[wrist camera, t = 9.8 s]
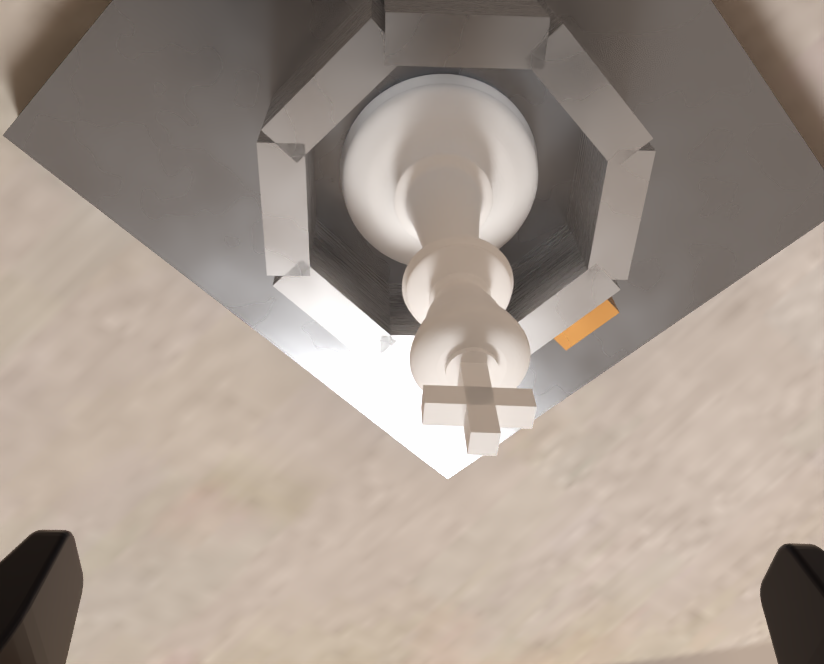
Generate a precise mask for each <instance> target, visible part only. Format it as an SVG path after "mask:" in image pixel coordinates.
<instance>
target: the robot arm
mask: <svg viewBox="0 0 824 664" xmlns="http://www.w3.org/2000/svg"><path fill="white" fill-rule="evenodd" d="M82 589H83V573H82V568H81V564H80V560H79V556H78V551H77V547H76V543H75V539H74V536H73V535H72V533H71V532H69V531H66V530H38V531H35V532H34V533H32V534H31V535H29V536H28V537H27V538H26V539H25V540H24V541H23V542H22V543H20V544H19V545H18V546H17V547H16V548H15V549H14V550H13V551H12V552H11V553H10V554H8V555H7V556H6V557H5V558H4V559H3V560H2V561H1V562H0V664H66V659H67V655H68V651H69V646H70V642H71V638H72V634H73V629H74V625H75V621H76V616H77V612H78V608H79V604H80V599H81V595H82ZM760 597H761V603H762V607H763V611H764V614H765V618H766V621H767V625H768V629H769V632H770V636H771V640H772V643H773V647H774V650H775V654H776V658H777V661H778V664H824V551H823V550H822V549H821V548H819V547H817V546H815V545H812V544H784V545H783V546H781V547H780V548H779V549H778V551H777V553H776V555H775V557H774V559H773V561H772V563H771V565H770V567H769V569H768V571H767V573H766V575H765V577H764V579H763V581H762V583H761V588H760Z"/></svg>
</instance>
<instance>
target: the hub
mask: <svg viewBox="0 0 824 664" xmlns="http://www.w3.org/2000/svg"><path fill="white" fill-rule="evenodd" d="M430 74H454V75H461V76H465V77H469V78H473V79H476V80H478V81H481V82H483V83H485V84H487V85H489V86H491V87H493V88H495V89H496V90H498V91H499V92H501V93H502V94H503V95H504V96H506V97H507V98H508V99H509V100H510V101H511V102H512V103H513V104H514V105H515V106H516V107H517V108H518V110H519V111H520V112H521V114H522V115H523V116H524V118H525V120H526V121H527V123H528V125H529V127H530V130H531V132H532V135H533V137H534V141H535V145H536V150H537V159H538V185H537V191H536V195H535V199H534V202H533V205H532V208H531V210H530V212H529V214H528V216H527V218H526V220H525V221H524V223H523V224H522V226H521V227H520V229H519V230H518V231H517V232H516V234H515V235H514V236H513V237H512V238H511V239H510V240H509V241H508V242H507V243H506V244H504V245H503V246H502V247H501V248H499V250H500V251H501V252H502V253H503V254H504V256H505V257H506V258H507V260H508V262H509V264H510V266H511V268H512V272H513V278H514V285H513V291H512V295H511V298H510V302H509V304H508V306H507V308H506V311H507V312H508V313H509V314H510V315H511V316H512V317H513V318H514V319H515V320H516V321H517V322H518V323H519V324H520V326H521V327H522V329H523V330H524V332H525V334H526V336H527V338H528V341H529V345H530V352H531V356H530V364H529V367H528V370H527V373H526V375H525V377H524V378H523V380H522V381H521V383H520V384H519V385H518V386H517V388H523V389H532V391H533V394H534V398H535V402H536V406H537V408H536V413H535V418H534V419H536V418H537V417H539V416H540V415H542V414H543V413H545V412H546V411H548V410H549V409H550V408H552V407H553V406H555V405H556V404H558V403H559V402H561V401H562V400H564V399H565V398H567V397H568V396H569V395H571V394H572V393H574V392H575V391H577V390H578V389H580V388H581V387H583V386H584V385H585V384H587V383H588V382H590V381H591V380H593V379H594V378H596V377H597V376H599V375H600V374H602V373H603V372H604V371H606V370H607V369H609V368H610V367H612V366H613V365H615V364H616V363H618V362H619V361H621V360H622V359H623V358H625V357H626V356H628V355H629V354H631V353H632V352H634V351H635V350H637V349H638V348H639V347H641V346H642V345H644V344H645V343H647V342H648V341H650V340H651V339H653V338H654V337H656V336H657V335H658V334H660V333H661V332H663V331H664V330H666V329H667V328H669V327H670V326H672V325H673V324H675V323H676V322H677V321H679V320H680V319H682V318H683V317H685V316H686V315H688V314H689V313H691V312H692V311H693V310H695V309H696V308H698V307H699V306H701V305H702V304H704V303H705V302H707V301H708V300H710V299H711V298H712V297H714V296H715V295H717V294H718V293H720V292H721V291H723V290H724V289H726V288H727V287H729V286H730V285H731V284H733V283H734V282H736V281H737V280H739V279H740V278H742V277H743V276H745V275H746V274H747V273H749V272H750V271H752V270H753V269H755V268H756V267H758V266H759V265H761V264H762V263H764V262H765V261H766V260H768V259H769V258H771V257H772V256H774V255H775V254H777V253H778V252H780V251H781V250H783V249H784V248H785V247H787V246H788V245H790V244H791V243H793V242H794V241H796V240H797V239H799V238H800V237H801V236H803V235H804V234H806V233H807V232H809V231H810V230H812V229H813V228H815V227H816V226H818V225H819V224H820V223H822V222H823V221H824V169H823V168H822V166H821V165H820V163H819V162H818V160H817V159H816V157H815V156H814V154H813V153H812V151H811V150H810V148H809V147H808V145H807V144H806V142H805V141H804V139H803V138H802V136H801V135H800V133H799V132H798V130H797V129H796V127H795V126H794V124H793V123H792V121H791V120H790V118H789V117H788V115H787V114H786V112H785V111H784V109H783V107H782V106H781V104H780V103H779V101H778V100H777V98H776V97H775V95H774V94H773V92H772V91H771V89H770V88H769V86H768V85H767V83H766V82H765V80H764V79H763V77H762V76H761V74H760V73H759V71H758V70H757V68H756V67H755V65H754V64H753V62H752V61H751V59H750V58H749V56H748V55H747V53H746V52H745V50H744V49H743V47H742V46H741V44H740V43H739V41H738V40H737V38H736V37H735V35H734V34H733V32H732V31H731V29H730V28H729V26H728V25H727V23H726V22H725V20H724V19H723V17H722V16H721V14H720V13H719V11H718V10H717V8H716V7H715V5H714V4H713V2H712V1H711V0H112V2H111V3H110V4H109V5H108V6H107V8H106V9H105V10H104V11H103V13H102V14H101V15H100V16H99V18H98V19H97V20H96V21H95V22H94V24H93V25H92V26H91V27H90V29H89V30H88V31H87V32H86V34H85V35H84V36H83V37H82V38H81V40H80V41H79V42H78V43H77V45H76V46H75V47H74V48H73V50H72V51H71V52H70V53H69V54H68V56H67V57H66V58H65V59H64V61H63V62H62V63H61V64H60V66H59V67H58V68H57V69H56V70H55V72H54V73H53V74H52V75H51V77H50V78H49V79H48V80H47V82H46V83H45V84H44V85H43V86H42V88H41V89H40V90H39V91H38V93H37V94H36V95H35V96H34V98H33V99H32V100H31V101H30V103H29V104H28V105H27V106H26V107H25V109H24V110H23V111H22V112H21V114H20V115H19V116H18V117H17V119H16V120H15V121H14V122H13V123H12V125H11V126H10V127H9V128H8V130H7V131H6V132H5V133H4V135H3V136H4V137H6V138H7V139H8V140H9V141H11V142H12V143H13V144H15V145H16V146H17V147H18V148H20V149H21V150H22V151H24V152H25V153H26V154H28V155H29V156H30V157H31V158H33V159H34V160H35V161H37V162H38V163H39V164H41V165H42V166H43V167H44V168H46V169H47V170H48V171H50V172H51V173H52V174H53V175H55V176H56V177H57V178H59V179H60V180H61V181H63V182H64V183H65V184H66V185H68V186H69V187H70V188H72V189H73V190H74V191H75V192H77V193H78V194H79V195H81V196H82V197H83V198H85V199H86V200H87V201H88V202H90V203H91V204H92V205H94V206H95V207H96V208H97V209H99V210H100V211H101V212H103V213H104V214H105V215H107V216H108V217H109V218H110V219H112V220H113V221H114V222H116V223H117V224H118V225H119V226H121V227H122V228H123V229H125V230H126V231H127V232H129V233H130V234H131V235H132V236H134V237H135V238H136V239H138V240H139V241H140V242H141V243H143V244H144V245H145V246H147V247H148V248H149V249H151V250H152V251H153V252H154V253H156V254H157V255H158V256H160V257H161V258H162V259H164V260H165V261H166V262H167V263H169V264H170V265H171V266H173V267H174V268H175V269H176V270H178V271H179V272H180V273H182V274H183V275H184V276H186V277H187V278H188V279H189V280H191V281H192V282H193V283H195V284H196V285H197V286H198V287H200V288H201V289H202V290H204V291H205V292H206V293H208V294H209V295H210V296H211V297H213V298H214V299H215V300H217V301H218V302H219V303H220V304H222V305H223V306H224V307H226V308H227V309H228V310H230V311H231V312H232V313H233V314H235V315H236V316H237V317H239V318H240V319H241V320H242V321H244V322H245V323H246V324H248V325H249V326H250V327H252V328H253V329H254V330H255V331H257V332H258V333H259V334H261V335H262V336H263V337H264V338H266V339H267V340H268V341H270V342H271V343H272V344H274V345H275V346H276V347H277V348H279V349H280V350H281V351H283V352H284V353H285V354H287V355H288V356H289V357H290V358H292V359H293V360H294V361H296V362H297V363H298V364H299V365H301V366H302V367H303V368H305V369H306V370H307V371H309V372H310V373H311V374H312V375H314V376H315V377H316V378H318V379H319V380H320V381H321V382H323V383H324V384H325V385H327V386H328V387H329V388H331V389H332V390H333V391H334V392H336V393H337V394H338V395H340V396H341V397H342V398H343V399H345V400H346V401H347V402H349V403H350V404H351V405H353V406H354V407H355V408H356V409H358V410H359V411H360V412H362V413H363V414H364V415H365V416H367V417H368V418H369V419H371V420H372V421H373V422H375V423H376V424H377V425H378V426H380V427H381V428H382V429H384V430H385V431H386V432H387V433H389V434H390V435H391V436H393V437H394V438H395V439H397V440H398V441H399V442H400V443H402V444H403V445H404V446H406V447H407V448H408V449H410V450H411V451H412V452H413V453H415V454H416V455H417V456H419V457H420V458H421V459H422V460H424V461H425V462H426V463H428V464H429V465H430V466H432V467H433V468H434V469H435V470H437V471H438V472H439V473H441V474H442V475H443V476H444V477H446V478H447V479H448V478H450V477H451V476H453V475H454V474H456V473H457V472H459V471H460V470H461V469H463V468H464V467H466V466H467V465H469V464H470V463H472V462H473V461H475V460H476V459H477V458H479V457H480V456H482V455H467V449H466V442H465V435H464V427H463V426H434V425H422V414H421V402H422V393H423V391H422V390H421V389H420V388H419V386H418V385H417V383H416V382H415V380H414V378H413V376H412V373H411V369H410V362H409V359H410V349H411V346H412V342H413V340H414V337H415V335H416V333H417V331H418V329H419V327H420V325H421V324H420V323H419V322H418V321H417V320H416V319H415V318H414V317H413V315H412V314H411V312H410V311H409V310H408V308H407V306H406V304H405V302H404V298H403V294H402V279H403V275H404V272H405V269H406V267H407V265H406V264H403V263H400V262H398V261H395V260H393V259H391V258H389V257H388V256H386V255H384V254H383V253H381V252H380V251H378V250H377V249H376V248H374V247H373V246H372V245H371V244H370V243H369V242H368V241H367V240H366V239H365V238H364V237H363V236H362V235H361V233H360V232H359V231H358V229H357V228H356V226H355V225H354V223H353V221H352V219H351V217H350V215H349V213H348V210H347V207H346V204H345V201H344V197H343V193H342V189H341V183H340V159H341V153H342V148H343V145H344V142H345V139H346V136H347V134H348V132H349V130H350V128H351V126H352V124H353V123H354V121H355V119H356V118H357V117H358V115H359V114H360V113H361V111H362V110H363V109H364V108H365V107H366V106H367V105H368V104H369V103H370V102H371V101H372V100H373V99H374V98H376V97H377V96H378V95H379V94H381V93H382V92H384V91H385V90H387V89H388V88H390V87H392V86H394V85H396V84H398V83H400V82H403V81H405V80H408V79H411V78H415V77H419V76H423V75H430ZM520 429H521V428H500V431H501V436H500V442H499V443H501V442H502V441H504V440H505V439H507V438H508V437H510V436H511V435H513V434H514V433H515V432H517V431H518V430H520Z"/></svg>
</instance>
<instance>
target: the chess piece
mask: <svg viewBox="0 0 824 664" xmlns="http://www.w3.org/2000/svg"><path fill="white" fill-rule="evenodd" d="M340 183H341V189H342V193H343V197H344V201H345V204H346V207H347V210H348V213H349V215H350V217H351V219H352V221H353V223H354V225H355V226H356V228H357V229H358V231H359V232H360V233H361V235H362V236H363V237H364V238H365V239H366V240H367V241H368V242H369V243H370V244H371V245H372V246H373V247H374V248H376V249H377V250H378V251H380V252H381V253H383V254H384V255H386V256H388V257H389V258H391V259H393V260H395V261H398V262H400V263H403V264H406V265H407V267H406V269H405V272H404V275H403V279H402V294H403V298H404V302H405V304H406V306H407V308H408V310H409V311H410V312H411V314H412V315H413V317H414V318H415V319H416V320H417V321H418V322H419V323H420V324H421V325H420V327H419V329H418V331H417V333H416V335H415V337H414V340H413V342H412V346H411V349H410V359H409V362H410V369H411V373H412V376H413V378H414V380H415V382H416V383H417V385H418V386H419V388H420V389H421V390H422V391H423V393H422V402H421V414H422V425H434V426H463V427H464V435H465V442H466V449H467V455H485V456H497V452H498V447H499V442H500V436H501V431H500V428H523V429H532V427H533V422H534V418H535V413H536V408H537V406H536V402H535V398H534V394H533V391H532V389H523V388H517V386H518V385H519V384H520V383H521V381H522V380H523V378H524V377H525V375H526V373H527V370H528V367H529V364H530V356H531V352H530V345H529V341H528V338H527V336H526V334H525V332H524V330H523V329H522V327H521V326H520V324H519V323H518V322H517V321H516V320H515V319H514V318H513V317H512V316H511V315H510V314H509V313H508V312H507V311H506V308H507V306H508V304H509V302H510V298H511V295H512V291H513V285H514V278H513V272H512V268H511V266H510V264H509V262H508V260H507V258H506V257H505V256H504V254H503V253H502V252H501V251H500V250H499V248H501V247H502V246H503V245H504V244H506V243H507V242H508V241H509V240H510V239H511V238H512V237H513V236H514V235H515V234H516V232H517V231H518V230H519V229H520V227H521V226H522V224H523V223H524V221H525V220H526V218H527V216H528V214H529V212H530V210H531V208H532V205H533V202H534V199H535V195H536V191H537V185H538V159H537V150H536V145H535V141H534V137H533V135H532V132H531V130H530V127H529V125H528V123H527V121H526V120H525V118H524V116H523V115H522V114H521V112H520V111H519V110H518V108H517V107H516V106H515V105H514V104H513V103H512V102H511V101H510V100H509V99H508V98H507V97H506V96H504V95H503V94H502V93H501V92H499V91H498V90H496V89H495V88H493V87H491V86H489V85H487V84H485V83H483V82H481V81H478V80H476V79H473V78H469V77H465V76H461V75H454V74H430V75H423V76H419V77H415V78H411V79H408V80H405V81H403V82H400V83H398V84H396V85H394V86H392V87H390V88H388V89H387V90H385V91H384V92H382V93H381V94H379V95H378V96H377V97H376V98H374V99H373V100H372V101H371V102H370V103H369V104H368V105H367V106H366V107H365V108H364V109H363V110H362V111H361V113H360V114H359V115H358V117H357V118H356V119H355V121H354V123H353V124H352V126H351V128H350V130H349V132H348V134H347V136H346V139H345V142H344V145H343V148H342V153H341V159H340Z"/></svg>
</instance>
